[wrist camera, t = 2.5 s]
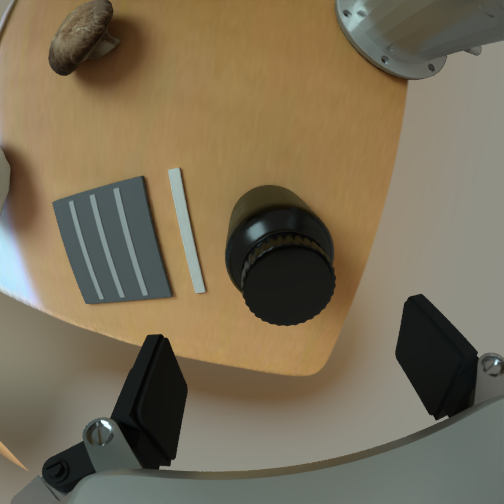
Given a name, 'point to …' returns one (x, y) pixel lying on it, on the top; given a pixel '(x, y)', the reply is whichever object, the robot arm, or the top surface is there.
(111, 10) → the mushroom
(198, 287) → the strip
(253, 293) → the supplement bottle
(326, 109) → the top surface
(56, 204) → the mat
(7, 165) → the cell model
